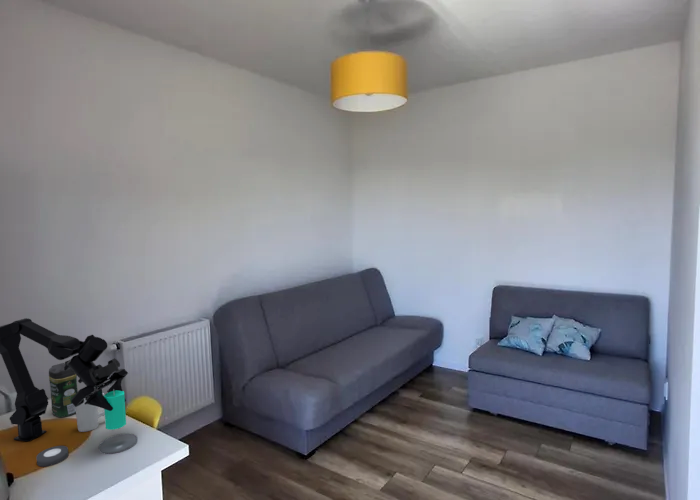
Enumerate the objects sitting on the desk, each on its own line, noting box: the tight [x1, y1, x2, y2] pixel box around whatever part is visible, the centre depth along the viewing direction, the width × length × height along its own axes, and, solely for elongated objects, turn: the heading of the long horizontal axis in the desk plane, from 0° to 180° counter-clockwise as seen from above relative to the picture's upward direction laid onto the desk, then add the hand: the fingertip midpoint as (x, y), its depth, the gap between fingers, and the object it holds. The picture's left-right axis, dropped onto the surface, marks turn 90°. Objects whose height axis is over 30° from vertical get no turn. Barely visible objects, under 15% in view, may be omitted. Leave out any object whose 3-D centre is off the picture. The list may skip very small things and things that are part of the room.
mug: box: [75, 392, 105, 433], centre depth 152 cm, size 10×7×12 cm, turn 128°
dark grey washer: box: [35, 445, 69, 468], centre depth 132 cm, size 8×8×2 cm
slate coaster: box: [98, 432, 138, 455], centre depth 140 cm, size 11×11×1 cm
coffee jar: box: [48, 362, 79, 418], centre depth 163 cm, size 10×8×19 cm
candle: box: [104, 390, 127, 431], centre depth 139 cm, size 6×6×12 cm
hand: (118, 405), depth 138 cm, fingers closed on candle, 5 cm apart
